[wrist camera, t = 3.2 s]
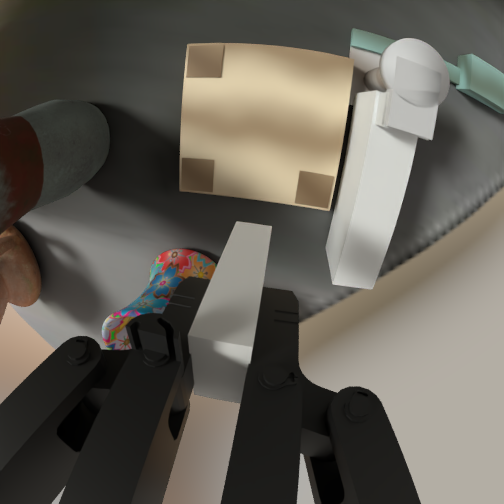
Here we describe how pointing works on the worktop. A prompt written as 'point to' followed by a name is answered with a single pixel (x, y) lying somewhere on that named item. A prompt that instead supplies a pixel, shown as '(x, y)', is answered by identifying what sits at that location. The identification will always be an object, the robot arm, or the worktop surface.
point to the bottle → (48, 155)
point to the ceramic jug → (17, 271)
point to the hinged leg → (383, 158)
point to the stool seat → (286, 115)
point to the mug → (157, 292)
